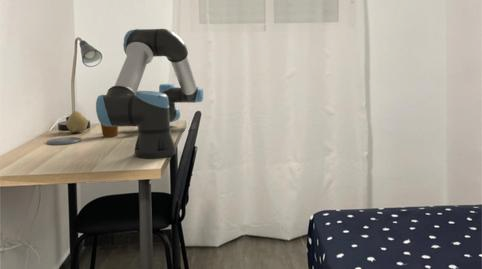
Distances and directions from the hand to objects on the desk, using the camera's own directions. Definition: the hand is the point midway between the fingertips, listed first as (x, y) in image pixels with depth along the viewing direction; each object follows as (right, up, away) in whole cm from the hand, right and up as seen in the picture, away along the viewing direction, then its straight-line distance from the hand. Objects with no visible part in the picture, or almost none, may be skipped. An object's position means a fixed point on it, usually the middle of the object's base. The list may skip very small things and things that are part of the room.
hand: (113, 122), depth 216 cm
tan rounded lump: (-21, -5, +12) cm, 24 cm away
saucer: (-18, -9, -13) cm, 24 cm away
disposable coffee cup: (-1, -7, -1) cm, 7 cm away
